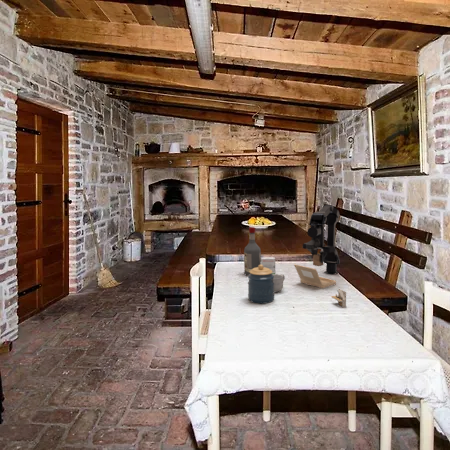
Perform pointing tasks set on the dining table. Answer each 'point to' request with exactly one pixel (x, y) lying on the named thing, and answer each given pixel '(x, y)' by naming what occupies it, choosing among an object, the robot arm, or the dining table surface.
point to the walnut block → (317, 260)
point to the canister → (261, 285)
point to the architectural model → (341, 297)
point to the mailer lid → (308, 274)
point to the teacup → (278, 282)
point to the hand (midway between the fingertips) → (318, 262)
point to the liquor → (251, 253)
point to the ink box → (269, 263)
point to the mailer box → (324, 284)
